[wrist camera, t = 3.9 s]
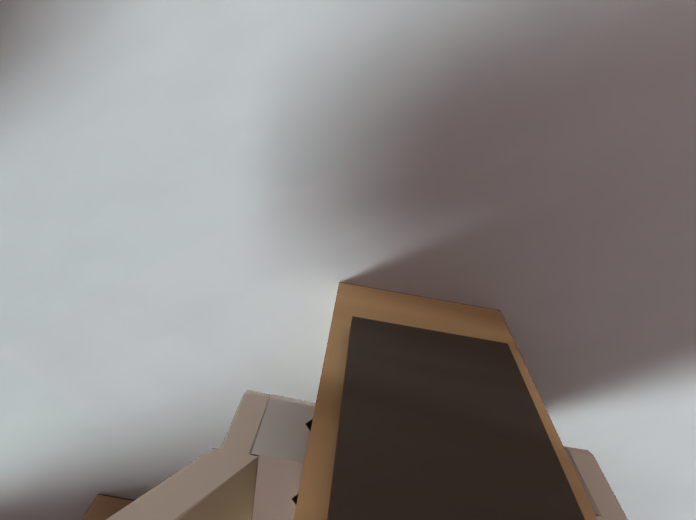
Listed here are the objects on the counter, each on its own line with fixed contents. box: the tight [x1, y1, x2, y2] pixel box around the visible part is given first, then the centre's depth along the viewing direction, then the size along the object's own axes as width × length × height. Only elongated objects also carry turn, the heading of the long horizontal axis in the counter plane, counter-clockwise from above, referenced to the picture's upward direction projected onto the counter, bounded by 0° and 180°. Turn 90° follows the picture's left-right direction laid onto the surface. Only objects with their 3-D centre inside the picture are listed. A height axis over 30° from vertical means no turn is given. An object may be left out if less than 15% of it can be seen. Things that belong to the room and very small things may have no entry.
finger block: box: [293, 282, 597, 520], centre depth 8 cm, size 4×4×8 cm
